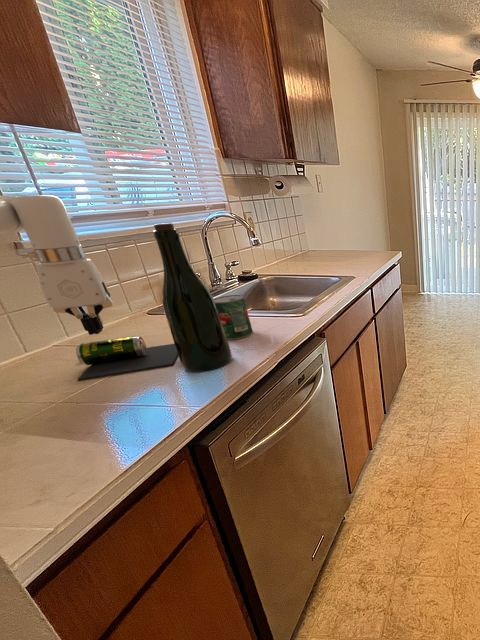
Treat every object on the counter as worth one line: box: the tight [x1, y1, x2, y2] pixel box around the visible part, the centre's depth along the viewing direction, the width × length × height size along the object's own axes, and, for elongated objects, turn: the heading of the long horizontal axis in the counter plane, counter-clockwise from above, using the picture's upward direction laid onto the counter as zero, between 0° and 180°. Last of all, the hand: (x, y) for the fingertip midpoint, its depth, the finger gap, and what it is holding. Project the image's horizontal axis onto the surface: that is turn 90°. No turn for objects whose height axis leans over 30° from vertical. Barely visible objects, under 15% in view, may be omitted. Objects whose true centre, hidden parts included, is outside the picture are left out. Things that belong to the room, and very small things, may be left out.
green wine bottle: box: [153, 222, 233, 373], centre depth 91 cm, size 10×10×33 cm
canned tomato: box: [213, 294, 254, 341], centre depth 114 cm, size 8×8×11 cm
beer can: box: [75, 335, 147, 366], centre depth 99 cm, size 5×5×12 cm
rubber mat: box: [77, 343, 179, 382], centre depth 101 cm, size 18×16×1 cm
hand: (96, 332), depth 96 cm, fingers closed
